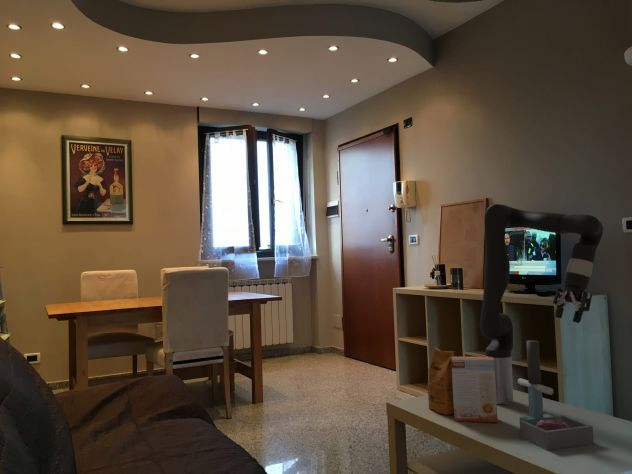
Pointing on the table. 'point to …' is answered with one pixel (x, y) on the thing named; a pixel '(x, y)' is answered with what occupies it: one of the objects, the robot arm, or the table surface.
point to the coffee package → (441, 382)
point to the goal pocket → (558, 434)
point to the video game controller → (551, 425)
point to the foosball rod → (534, 385)
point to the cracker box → (474, 389)
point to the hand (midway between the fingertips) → (566, 320)
